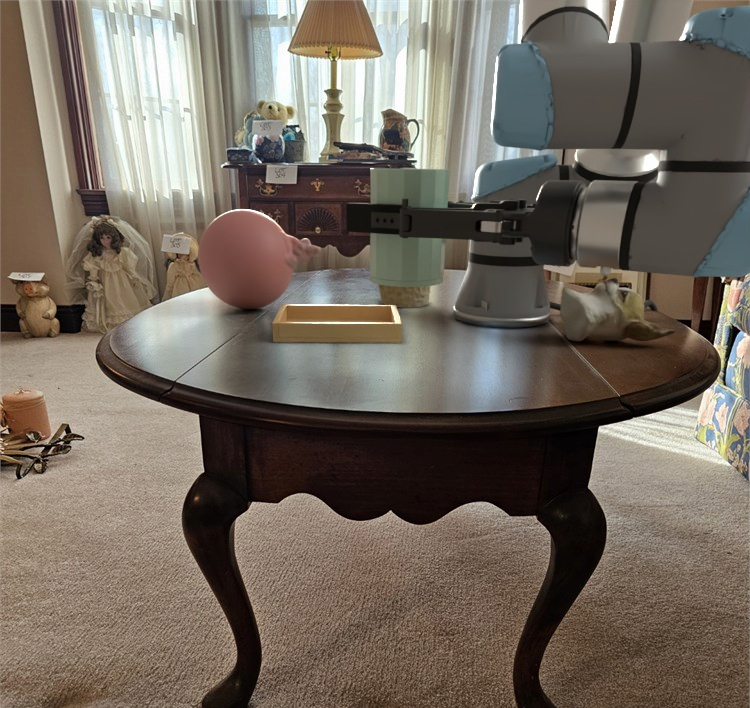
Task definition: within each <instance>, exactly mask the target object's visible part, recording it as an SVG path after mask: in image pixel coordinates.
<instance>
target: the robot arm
mask: <svg viewBox="0 0 750 708" xmlns="http://www.w3.org/2000/svg"><path fill="white" fill-rule="evenodd" d="M693 3H694V0H616V5H615V10H614V15H613V20H612V24H611V25H612V26H611V29H610V0H520V1H519V22H518V40H517V41H518V42H517V43H508V44H505V45H503V46H502V47H501V48H500V49H499V50H498V52H497V55H496V60H495V61H496V62H495V72H494V80H493V82H494V83H493V92H492V108H491V119H490V120H491V121H490V135H491V138H492V140H493V142H494V143H495V144H497V145H498V146H499V147H503V148H504V147H505V148H515V149H524V150H525V149H526V150H533V151H545V150H576V151H575V154H574V160H573V164H558V163H559V160H558V157H557V154H556V153H549V154H548V153H547V154H540V155H532V156H525V157H524V156H523V157H517V158H508V159H501V160H494V161H489V162H485V163H483V164H481V165H480V166H479V167H478V168H477V170H476V172H475V175H474V176H475V177H474V185H473V192H472V193H473V194H472V196H471V201H464V200H459V199H458V200H457V201H455V202H454V201H452V200H448V208H422V207H411V206H408V199H402V205H394V204H370V202H346V203H345V204H346V206H345V207H346V232H347V233H361V234H362V233H363V234H370V233H377V234H394V235H399V236H400V237H403V238H408V237H415V238H439V239H446V240H464V241H466V240H467V241H469V250H468V262H467V264H468V265H467V268H466V271H465V273H464V277H463V278H462V282H461V285H460V286H459V290H458V292H457V294H456V297H455V300H454V306H453V313H452V314H453V318H454V319H456V320H458V321H460V322H463V323H466V324H471V325H476V326H483V327H493V328H496V327H497V328H528V327H529V328H530V327H536V326H541V325H544V324H546V323H548V322H550V315H551V309H552V310H557V311H559V312H560V308H561V303H557V302H553V301H550V298H549V294H548V288H547V282H546V277H545V271H544V268H545V266H553V267H566V268H567V267H571V266H572V265H574V264H575V262H576V263H577V265H578V266H579V267H580V268H587V269H596V268H597V267H600V270H599V273H600V276H602V277H603V276H605V277H607V276H610V275H611V272H612V269H613V270H614V271H615V270H617V271H618V270H619V271H620V270H621V271H625V272H638V273H651V274H660V275H671V276H672V275H673V276H684V277H692V278H696V279H697V278H700V277H712V278H714V277H716V278H742V277H745V276H748V275H749V274H750V5H736V6H731V7H726V6H725V7H717V8H711V9H706V10H702V11H700V12H697V13H695V14H693V15H692V16H691V11H692V7H693ZM690 16H691V17H690ZM643 303H644V310H646V309H647V308H649V309H650V311H652V312H653V311H654V312H657V311H658V307H657V305H656V303H655V302H654V301H653V300H650V299H647V300H645V301H643Z"/></svg>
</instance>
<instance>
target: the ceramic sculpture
mask: <svg viewBox="0 0 750 708" xmlns="http://www.w3.org/2000/svg"><path fill="white" fill-rule="evenodd" d="M560 304H561V308H560V311H559V316H560V318H561V321H562V325H563V326H562V327H563V331H564V334H565V337H566V338H567V339H568V340H569V341H572V342H582V341H584V340H585V339H586V338H587V337H593V338H597V339H599V340H602V341H605V342H620V341H624V340H627V339H629V340H633V341H636V342H637V341H638V342H650V341H654V340H658V339H661V338H664V337H667V336H671V335H674V334H675V333H676V330H675V329H671V328H663V327H662V326H661V325H659V324H658V323H655V322H654V321H651V322H650V321H647V320H645V318H644V315H645V309H644V300H643V298H642V296H641V295H640V294H639V293H638V292H637V291H635V290H633V289H631V288H630V287H629V288H628V287H620V285H619V280H618V278H616V277H612V278H609V279H604V280H602V281H601V282H599V283H597V284H596V285H595V287H594V289H592V290H591V291H589V292H584V293H583V292H578V291H576V290H574V289H571V288H568V287H567V286H564V287H563V288H562V290H561V299H560Z"/></svg>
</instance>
